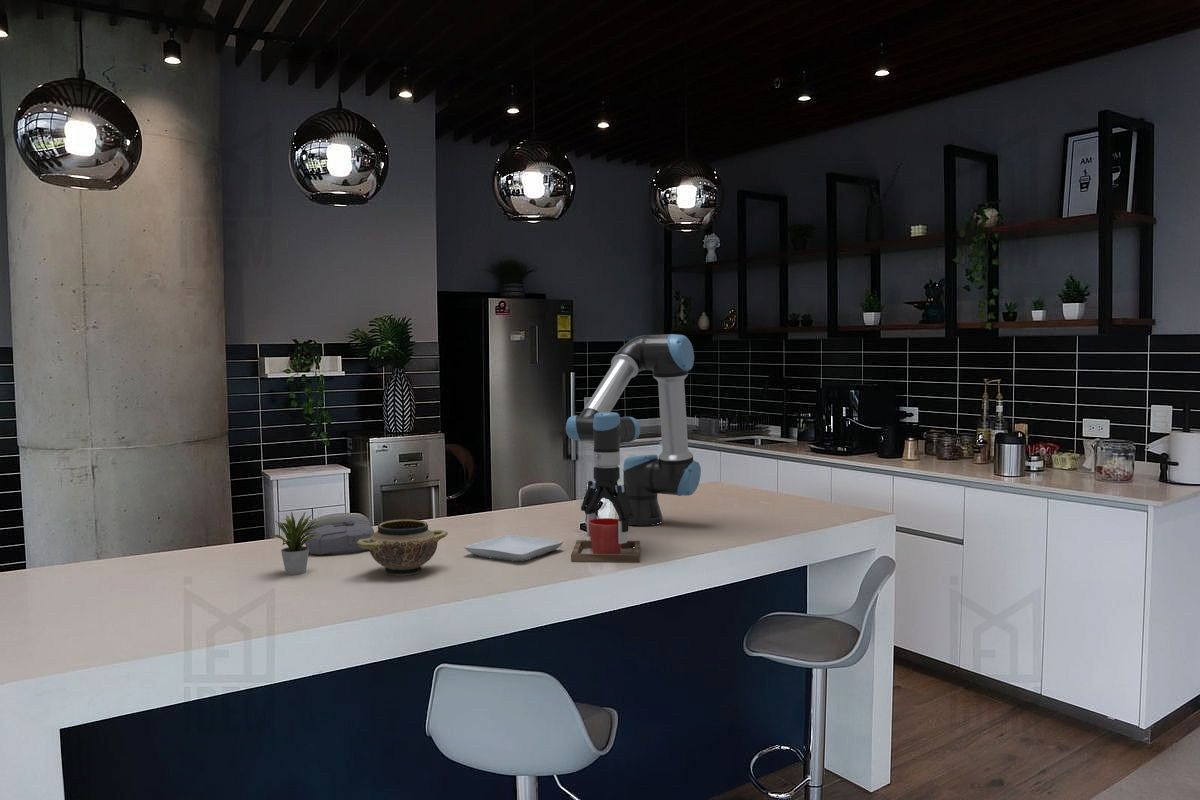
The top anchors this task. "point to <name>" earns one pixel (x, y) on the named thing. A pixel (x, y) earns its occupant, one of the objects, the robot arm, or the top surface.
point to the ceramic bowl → (402, 545)
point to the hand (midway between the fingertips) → (606, 539)
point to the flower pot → (604, 536)
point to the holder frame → (605, 557)
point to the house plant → (295, 544)
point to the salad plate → (513, 547)
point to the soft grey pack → (338, 538)
